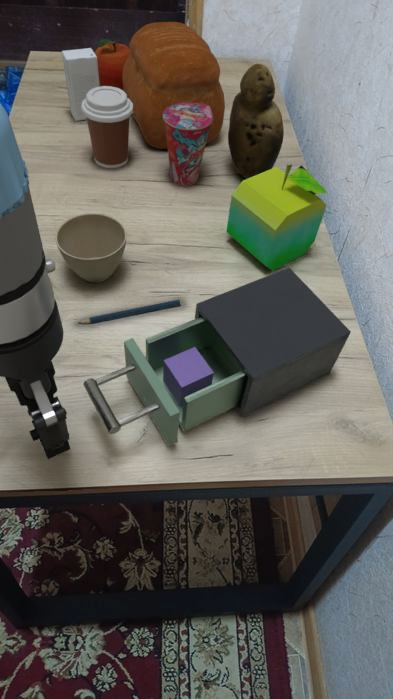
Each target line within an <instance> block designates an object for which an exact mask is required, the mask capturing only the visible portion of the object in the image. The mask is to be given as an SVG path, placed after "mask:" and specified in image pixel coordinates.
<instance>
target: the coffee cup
mask: <svg viewBox="0 0 393 699" xmlns="http://www.w3.org/2000/svg"><path fill="white" fill-rule="evenodd" d="M81 111H82V112H83V114H84V116H86V118H87V119H86V122H87V127H88V133H89V138H90V142H91V148H92V153H93V158H94V162H95V163H96V165H98V166H99V167H102V168H106V169H116V168H121V167H123V166H125V165H126V164H127V162H129V141H130V140H129V138H130V117H131V116H133V103H132V102H131V101H130V99H128V98H127V95H126V93H125V92H124V89H123V90H121V89H119V88H116V87H112V86H102V85H100V87H96V88H93V89H91V90H90V91H89V92H88V93H87V95H86V99H84V100H83V101H82V105H81Z"/></svg>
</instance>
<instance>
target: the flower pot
mask: <svg viewBox="0 0 393 699" xmlns="http://www.w3.org/2000/svg"><path fill="white" fill-rule="evenodd" d="M54 239H55V243H56V246H57V249H58V251H59V252H60V255H61V257H62V259H63V260H64V262H65V263H66V264H67V266H68V267H69V268H70V269H71V271H73V272H74V273H75V274H76V275H77V276H78V277H80V278H81V279H82V280H84V281H86V282H89V283H101V282H104V281H106V280H108V279H109V278H110V277H111V276H113V274H114V273H115V271H116V270H117V268H118V267H119V265H120V263H121V262H122V259H123V257H124V253H125V249H126V244H127V230H126V228H125V226H124V224H123V223H122V222H121V221H120V220H118V219H117V218H115V217H113V216H111V215H109V214H105V213H101V212H100V213H99V212H86V213H80V214H77V215H74V216H71V217H69V218H68V219H66V220H64V221H63V222H62V223H61V224H60V225H59V227H58V228H57V230H56V232H55V236H54Z"/></svg>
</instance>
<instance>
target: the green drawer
mask: <svg viewBox="0 0 393 699" xmlns="http://www.w3.org/2000/svg"><path fill="white" fill-rule="evenodd" d="M193 347H196V349H197V350H198V351H199V353H200V354H201V356H202V357H203V358H204V360H205V361H206V363H207V364H208V365H209V367H210V368H211V370H212V371H213V372H214V375H213V380H212V385H210V386H208V387H205V388H203V389H201V390H199V391H197V392H195V393H193V394H190V395H188V396H186V397H184V402H183V406H181V407H180V406H179V404H178V403H177V401H176V400H175V398H174V396H173V395H172V393H171V392H170V390H169V389H168V387H167V386H166V384H165V382H164V381H163V369H164V360H165V359H168V358H170V357H172V356H175V355H177V354H179V353H182V352H184V351H186V350H189V349H191V348H193ZM123 348H124V360H125V362H124V363H125V366H124V367H122V368H120V369H117V370H115V371H112V372H111V373H108V374H105V375H103V376H100V377H99V378H96V379H95V378H94V377H90V378H87V379H86V380H84V382H83V387H84V389H85V391H86V393H87V395H88V397H89V398H90V400H91V402H92V404H93V406H94V408H95V410H96V412H97V414H98V416H99V418H100V419H101V421H102V423H103V425H104V427H105V429H106V432H108V434H109V435H114V434H117V433H118V432H120V431H121V428H122V427H124V426H126V425H128V424H131V423H133V422H135V421H138V420H139V419H142V418H143V417H146V416H148V415H149V417H150V418H151V420H152V422H153V423H154V425H155V427H156V428H157V430H158V432H159V434H160V436H162V439H163V440H164V441H165V444H166V445H167V446H168V447H171V446H173V445H175V444H176V443H178V438H179V426H180V428H181V430H182V431H183V432H184V433H185V432H186V431H188V430H191V429H193V428H195V427H196V426H199V425H202V424H203V423H205V422H207V421H209V420H211V419H213V418H215V417H217V416H219V415H221V414H223V413H226V412H227V411H229V410H231V409H234V407H235V406H237V405H239V404H241V403H242V399H243V395H244V392H245V388H246V385H247V381H248V376H247V374H246V373H245V372H244V370H243V369H242V368H241V366H240V365H239V364H238V362H237V361H236V360H235V359H234V357H233V356H232V355H231V353H230V352H229V351H228V349H227V348H226V347H225V345H224V344H223V343H222V341H221V340H220V339H219V337H218V336H217V335H216V334H215V332H214V331H213V330H212V328H211V327H210V326H209V324H208V323H207V322H206V320H205V319H204V318H203V316H202V317H199V318H197V319H195V318H194V319H192V320H190V321H187V322H185V323H182V324H180V325H177V326H175V327H172V328H169V329H166V330H165V331H161V332H159V333H157V334H155V335H152V336H149V337H147V338H145V354H144V353H143V351H142V350H141V348H140V346H139V345H138V344H137V342H136V341H135V339H134V338H133V337H131V338H129V339H126V340H124V341H123ZM122 376H126V378H127V379H128V381H129V383H130V385H131V386H132V388H133V390H134V391H135V393H136V395H137V397H138V398H139V400H140V401H141V403H142V405H143V407H144V408H142V409H140V410H138V411H136V412H134V413H130V414H129V415H127V416H124V417H122V418H121V419H117V417H116V416H115V414H114V412H113V410H112V408H111V406H110V405H109V403H108V401H107V399H106V398H105V396H104V394H103V392H102V390H101V388H100V387H99V386H101V385H104V384H106V383H108V382H110V381H113V380H115V379H118V378H120V377H122Z"/></svg>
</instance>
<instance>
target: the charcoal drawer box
mask: <svg viewBox="0 0 393 699" xmlns="http://www.w3.org/2000/svg"><path fill="white" fill-rule="evenodd" d="M194 313H195V314H194V319H197V318H199V317H202V316H203V318H204V319H205V320H206V322H207V323H208V324H209V326H210V327H211V328H212V330H213V331H214V332H215V334H216V335H217V336H218V337H219V339H220V340H221V341H222V343H223V344H224V345H225V347H226V348H227V349H228V351H229V352H230V353H231V355H232V356H233V357H234V359H235V360H236V361H237V362H238V364H239V365H240V366H241V368H242V369H243V370H244V372H245V373H246V374H247V376H248V381H247V385H246V388H245V392H244V395H243V399H242V403H241V404H239V405H237V406H235V407H233V409H235V411H236V413H237V414H238V415H239V417H240V418H242V419H243V418H245V417H247V416H249V415H252V414H254V412H257V411H259V410H261V409H263V408H264V407H267V406H269V405H271V404H272V403H275V402H277V401H278V400H280V399H283V398H284V397H287V396H289V395H291V394H292V393H295V392H297V391H299V390H300V389H303V388H304V387H307V386H309V385H310V384H312V383H314V382H316V381H319V380H320V379H322V378H324V377H327V376H328V375H330V374H331V372H332V370H333V368H334V366H335V364H336V362H337V360H338V358H339V357H340V355H341V353H342V350H343V348H344V347H345V345H346V343H347V341H348V338H349V337H350V335H351V333H352V331H351V330H350V329H349V328H348V327H347V326H346V325H345V324H344V323H343V322H342V321H341V319H339V318H338V317H337V315H335V313H334V312H333V311H332V310H331V309H330V308H329V307H328V306H327V305H326V304H325V303H324V302H323V301H322V300H321V299H320V297H318V296H317V295H316V294H315V293H314V292H313V290H312V289H311V288H310V287H309V286H308V285H307V284H306V283H305V282H304V281H303V279H301V278H300V277H299V276H298V275H297V274H296V273H295V272H294V271H293V269H291V268H290V267H287V268H285V269H284V268H283V269H282V270H279V271H277V272H274V273H271V274H269V275H266V276H263V277H262V278H259V279H256V280H254V281H250V282H249V283H246V284H243V285H240V286H238V287H235V288H233V289H230V290H228V291H226V292H225V291H224V292H223V293H220V294H218V295H215V296H213V297H211V298H207V299H205V300H202V301H200V302H197V303H196V304H195V312H194Z"/></svg>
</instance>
